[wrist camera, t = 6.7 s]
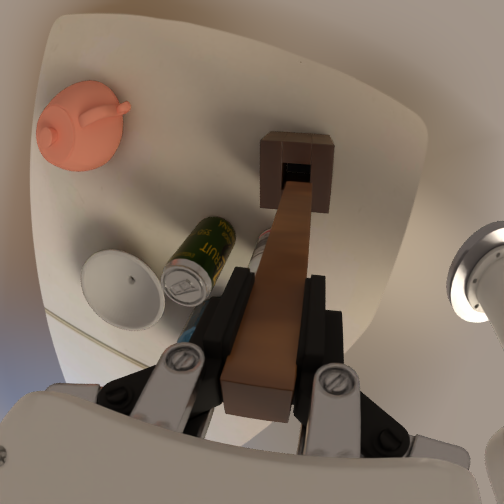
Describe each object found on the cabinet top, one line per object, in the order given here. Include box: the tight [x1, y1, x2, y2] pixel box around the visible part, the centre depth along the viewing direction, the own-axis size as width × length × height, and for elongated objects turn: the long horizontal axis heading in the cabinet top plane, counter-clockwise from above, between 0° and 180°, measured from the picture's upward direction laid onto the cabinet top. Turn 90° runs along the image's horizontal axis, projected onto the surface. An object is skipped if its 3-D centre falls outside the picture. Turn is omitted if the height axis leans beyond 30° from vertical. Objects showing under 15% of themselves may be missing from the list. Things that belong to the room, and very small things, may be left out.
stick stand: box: [260, 131, 335, 213], centre depth 29 cm, size 7×7×7 cm
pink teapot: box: [36, 80, 131, 172], centre depth 29 cm, size 12×14×10 cm
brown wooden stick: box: [220, 181, 312, 423], centre depth 15 cm, size 2×2×18 cm
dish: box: [81, 249, 165, 331], centre depth 44 cm, size 18×14×5 cm
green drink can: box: [161, 217, 236, 307], centre depth 34 cm, size 5×5×12 cm
